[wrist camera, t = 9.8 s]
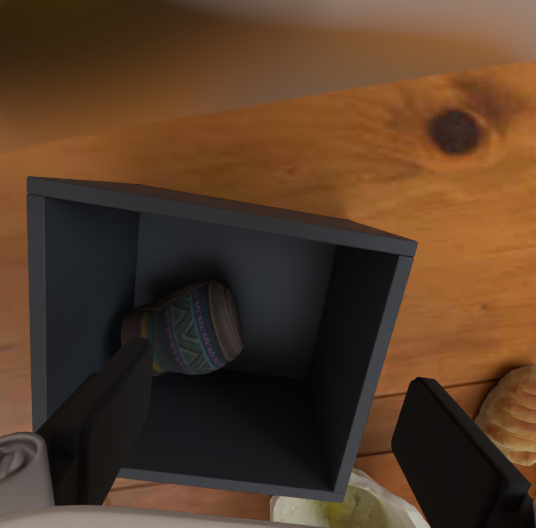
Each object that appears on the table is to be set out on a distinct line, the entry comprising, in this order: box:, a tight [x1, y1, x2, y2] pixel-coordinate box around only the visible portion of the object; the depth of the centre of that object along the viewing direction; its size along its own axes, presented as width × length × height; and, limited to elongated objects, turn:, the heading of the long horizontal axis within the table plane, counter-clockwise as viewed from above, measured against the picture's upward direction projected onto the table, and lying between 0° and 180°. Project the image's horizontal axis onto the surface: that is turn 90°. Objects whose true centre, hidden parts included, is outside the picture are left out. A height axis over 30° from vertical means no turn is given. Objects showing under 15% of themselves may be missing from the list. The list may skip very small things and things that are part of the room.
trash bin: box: [27, 176, 418, 503], centre depth 21 cm, size 17×19×12 cm
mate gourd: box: [121, 280, 244, 376], centre depth 23 cm, size 7×8×10 cm
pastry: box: [474, 366, 536, 466], centre depth 29 cm, size 9×7×4 cm
